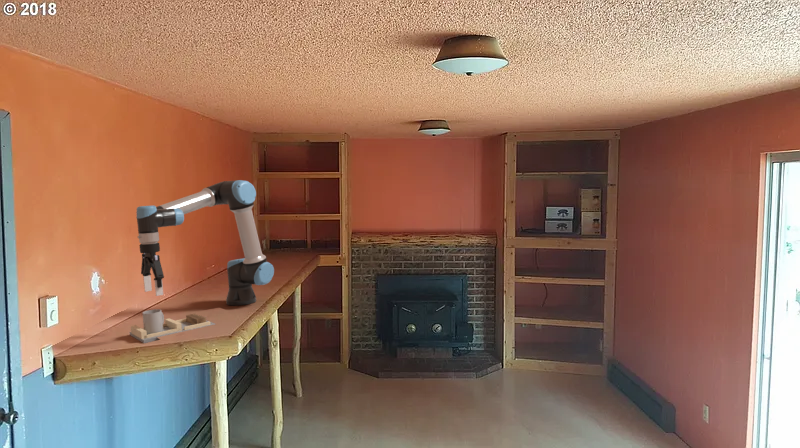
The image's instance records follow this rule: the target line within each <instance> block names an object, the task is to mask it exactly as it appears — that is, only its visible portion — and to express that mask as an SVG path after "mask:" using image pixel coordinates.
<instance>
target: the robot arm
mask: <svg viewBox="0 0 800 448" xmlns="http://www.w3.org/2000/svg"><path fill="white" fill-rule="evenodd" d="M256 197H257V191H256V188H255V186H254V184H252V183H251V182H249V181H248V180H242V179H239V180H238V179H237V180H225V181H220V182H217V183H214V184H212V185H210V186H207V187H203V189H201V191H198V192H195V193H193V194H190V195H186V196H184V197H181V198H178V199H175V200H171V201H169V202H166V203H163V204H160V205H158V206H156V205H141V206H140V205H139V206H137V207H136V212H135V213H136V222H137V231H138V235H137V239H138V242H139V243H140V244H139V251H140V253H141V267H140V269H141V270H140V271H141V272H140V274H141V275H142V276H143V286H144V288H143V289H144V292H147V293H148V292H152V290H153V288H152V287H153V286H152V277H151V275H152V274H153V276H154V278H153V281H154V289H155V296H156V297H157V296H164V286H163V279H165V275H164V271H163V267H162V264H161V259H160V255H159V254H157V253H159V252H160V251H161V248H160V242H159V241H160V234H159V228H163V227H164V228H167V227H176V226H180V225H182V224H183V223H184V221H185V215H187V214H190V213H192V212H194V211H197V210H198V211H199V210H201V209H203V208H206V207H210V208H211V207H215V206H220V205H221V206H222V205H228V207H229V211H231V213H233V214H234V218H235V222H236V226H237V231H238V235H239V239H240V243H241V246H242V252H243V255H244V257H243V258H237V259H232V260H229V261H227V267H226V270H227V279H228V280H227V282H228V292H227V295H226V298H225V301H226V303H225V304H226V305H227V306H245V305H250V304H254V303H256V302H257V296H256V294H255V291H254V288H253V285H255V286H264V285H268V284H269V283H271V281H272V279H273V277H274V274H275V268H274V265H273V264H272V263H270V262H269V261H267V256H266V255H265V254H263V252H262V248H261V247H262V246H261V243H260V238H259V236H258V230H257V226H256V222H255V218H254V215H253V214H254V213H253V210H252V209H253V207H254V206H255V205H254V202H255V200H256ZM151 271H152V274H151Z"/></svg>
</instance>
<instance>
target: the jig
mask: <svg viewBox="0 0 800 448" xmlns="http://www.w3.org/2000/svg"><path fill="white" fill-rule="evenodd" d="M213 325H216V323H214V322H212V321H209V320H207V319H206V322H204V323H199V324H195V325H193V324H191V323H188V322H187V320H186V317H185V318H181V319H176V320H174V319H172V318H164V323H163V331H162V332H157V333H153V334H148V335H147V332H146V330H144V327H143V328H142V327H141V326H138V325H136V324H135V325H130V331H129V335H130V336H131V337H132V338H134V339H135V340H137V341H140V342H141V343H142V344H146V343H151V342H155V341H159V340H161V338H160V337H164V336H169V335H174V334H178V333H182V332H188V331H193V330H195V329H200V328H205V327H210V326H213Z"/></svg>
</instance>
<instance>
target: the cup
mask: <svg viewBox="0 0 800 448" xmlns="http://www.w3.org/2000/svg"><path fill="white" fill-rule="evenodd" d="M162 311H163V310H162V309H150V310H145V311H142V323H143V328H144V330H146V332H147V335H148V334H153V333H157V332H162V331H163V324H165V316H164V312H162Z"/></svg>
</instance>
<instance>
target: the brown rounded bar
mask: <svg viewBox="0 0 800 448" xmlns="http://www.w3.org/2000/svg"><path fill="white" fill-rule="evenodd" d="M185 316H186V317H185V318H186V320H187V322H188V323H191V324H193V325H195V324H199V323H204V322H206V320H207V317H206V316H202V315H200V314H197V313H190V314H186V315H185Z"/></svg>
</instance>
